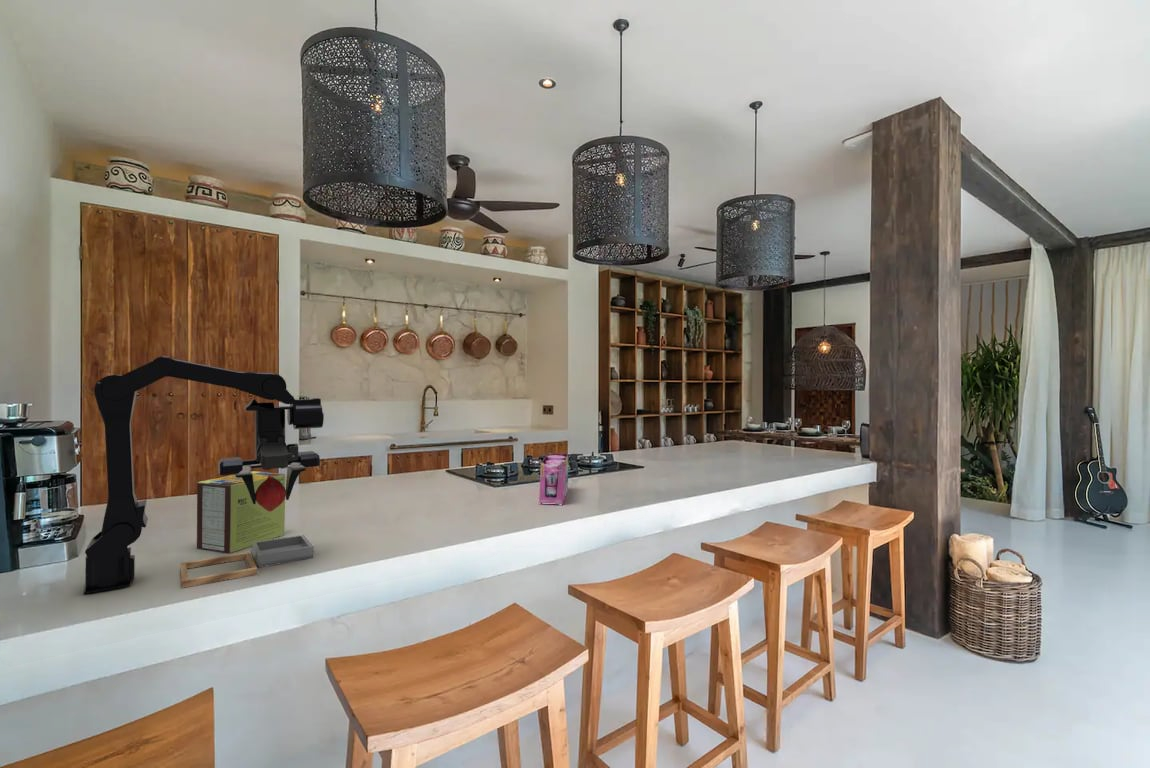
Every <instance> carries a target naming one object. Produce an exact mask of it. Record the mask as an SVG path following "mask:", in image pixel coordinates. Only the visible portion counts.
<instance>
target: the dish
mask: <svg viewBox="0 0 1150 768" xmlns="http://www.w3.org/2000/svg"><path fill="white" fill-rule="evenodd" d="M251 555H252V558H253V560H254V562H255V565H256V564H257V565H256V567H257V568H262V567H261V566H263V567H267V566H266V565H269V566H274V565H273V564H275V565H279V564H280V565H281V564H285V562H286V563H291V562H297V561H301V560H309V559H313V558H314V545H313V544H312V542H310V540H309V539H308V537H306V535H304V534H299V535H293V536H286V537H284V536H283V537H280V538H279V537H277V538H274V539H271V540H264V541H258V542H252V546H251ZM278 563H279V564H278Z"/></svg>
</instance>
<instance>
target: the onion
mask: <svg viewBox="0 0 1150 768" xmlns="http://www.w3.org/2000/svg"><path fill="white" fill-rule="evenodd" d="M255 496H256V501H257V503H258V504H259V505H260V506H262V507H263V508H264V509H266V510H267V511H273V510H274V509H275V508H277V507H278V506H280V505H281V504H282V503H283V501H284V499H285V500H286V486H285V487H284V486H283V485H282V484H281V482H280V481H278V480H276V479H275V478H273V477H272V475H268V477H267V480H265V481H264V482H263V483H261V484H260V486H259V487H258V488H257V490H256V493H255Z"/></svg>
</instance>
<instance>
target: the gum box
mask: <svg viewBox="0 0 1150 768" xmlns="http://www.w3.org/2000/svg"><path fill="white" fill-rule="evenodd" d="M539 478H540V480H539V497H538V498H539V499H538V504H539V503H555V504H563V505H564V502H565V500H566V497H567V495H566V493H567V494H568V492H567V490H568V491H569V454H568V453H547V454H546V456H545V457H544V458H543V460H541V462H540V475H539ZM565 496H566V497H565ZM564 499H565V500H564ZM563 501H564V502H563Z"/></svg>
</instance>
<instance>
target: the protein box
mask: <svg viewBox="0 0 1150 768" xmlns="http://www.w3.org/2000/svg"><path fill="white" fill-rule="evenodd" d="M251 473H252V474H253V483H254V490H255V493H256V490H257V488H258V487H259V486H260V484H261V483H263V482H264V481H265V480H267V477H268V475H272V477H273V478H275V479H276V480H278V481H280V482H281V484H282V485H283V486H284V487H285V488H286V473H278V472H277V473H276V472H267V471H257V470H256V471H255V470H253V471H251ZM196 491H197V493H196V549H198V548H201V549H200V550H205V549H207V551H212V550H213V551H212V552H219V551H220V553H227V554H233V553H234V552H237V551H241V550H244V549H246V548H250V547H252V542H258V541H264V540H270V539H272V538H274V539H276V538H279V537H282V536H284V535H285V529H286V526H285V522H286V498H285V499H284V501H283V503H282V504H281V505H280V506H278V507H277V508H275V509H274V510H273V511H267V510H266V509H264V508H263V507H262V506H260V505H259V504H258V503H257V501H256V504H253V502H252V500H251V497H250V494H249V492H248V489H247V487H246V485H245V483H244V481H243V479H242V478H236V477H235V475H234V474H231V475H225V476H221V477H216V478H213V479H212V478H211V479H206V480H201V481H198V482H197V490H196ZM281 535H282V536H281ZM278 536H279V537H278ZM275 537H276V538H275Z"/></svg>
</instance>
